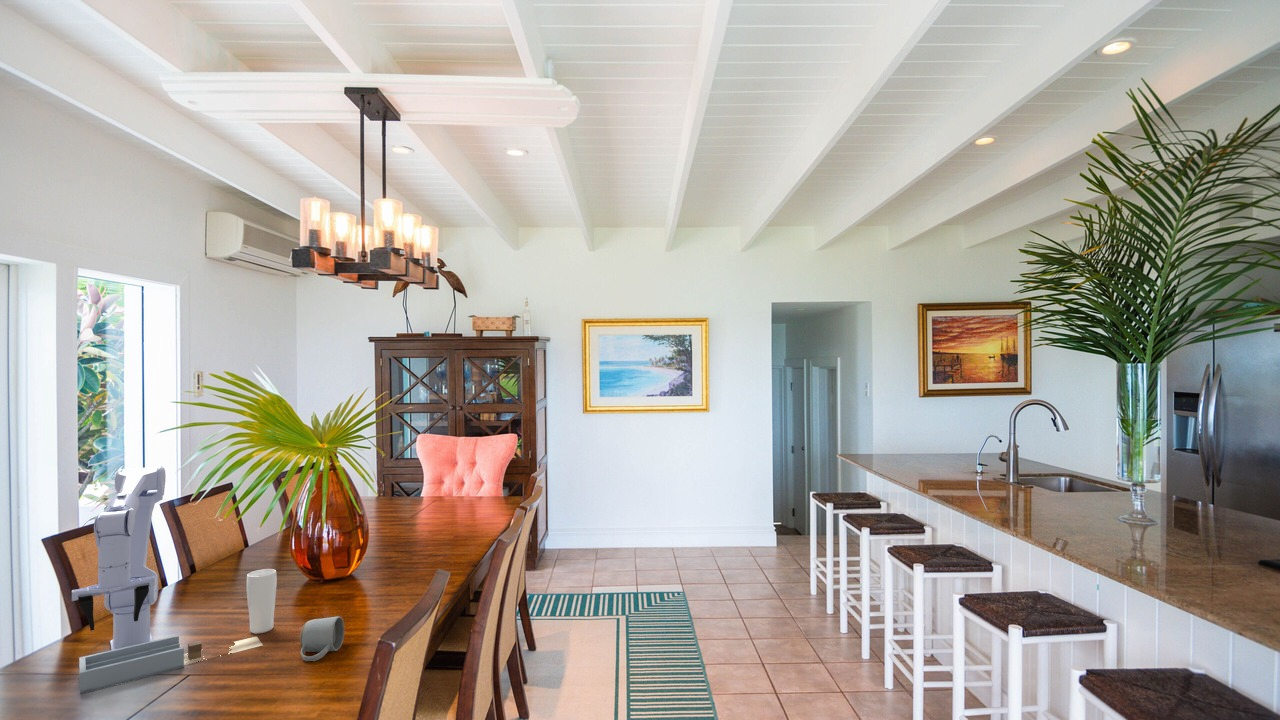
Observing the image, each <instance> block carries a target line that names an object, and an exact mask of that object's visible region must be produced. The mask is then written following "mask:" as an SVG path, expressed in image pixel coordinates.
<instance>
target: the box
mask: <svg viewBox="0 0 1280 720" xmlns="http://www.w3.org/2000/svg"><path fill="white" fill-rule="evenodd" d="M180 644H181V643H180V636H179V635H178V634H175V635H173V636H168V637H163V638H159V639H155V640H154V639H153V641H150V642H146V643H141V644H137V645H132V646H128V647H124V648H119V649H115V650H107V651H103V652H98V653H93V654H90V655H85V656H84V655H83V656H80V657H78V659H79V661H78V667H79V671H78V672H79V673H78V680H79V681H78V682H79V685H78V687H79V695H83V694H86V692H87V693H90V692H93V691H94V692H95V691H98V690H97V689H99V690H103V689H107V688H110V687H113V686H118V685H121V683H122V684H126V683H128V682H129V681H130V682H133V681H137V680H141V679H145V678H149V677H153V676H156V675H160V674H163V673H168V671H169V672H172V671H176V670H179V669H184V668H185V666H184V654H185V648H184V647H183V646H182V647H181V645H180ZM125 682H126V683H125ZM117 684H118V685H117ZM102 688H103V689H102Z"/></svg>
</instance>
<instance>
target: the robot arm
mask: <svg viewBox="0 0 1280 720" xmlns="http://www.w3.org/2000/svg"><path fill="white" fill-rule="evenodd" d="M165 488H166V470H165V467H163V466H162V465H159V466H150V467H149V466H148V467H137V468H136V467H133V468H119V469H118V470H116V473H115V477H114V489H115V491H116V494H115V495H114V496H112V497H111V499H110V501H109V502H108V504H107V507H106V508H105V510H104V511H103V512H101V513H100V514H97V515H96V516H95V518H94V523H93V534H94V538H95V547H96V548H97V551H98V552H97V554H98V555H97V583H98V584H93V585H89V586H85V587H81V588H78V589H72V590H71V601H72V602H74V601H75V602H76V601H78V605H79V607H80V608H81V610H82V611H83V613H84V616H85V617H86V619H87V621H88V625H89V631H94V630H95V619H94V597H97V596H102V595H104V602H103V604H104V607H105V609H106V610H108V611H110V614H111V615H113V617H112V621H113V625H112V626H113V630H112V631H113V632H112V633H113V634H112V635H113V636H112V639H111V640H109V641H110V649H111V650H115V649H119V648H124V647H128V646H132V645H137V644H141V643H146V642H150V641H154V639H153V637H152V633H151V605H154V604H155V603H156V602H157V599H158V595H159V576H158V574H157V572H156V571H154V569H151V568H149V567H147V561H148V560H147V559H148V552H149V543H150V536H151V533H150V532H151V526H152V517H153V511H154V508H155V504H156V503H159V502H160V501H162V500H163V499H164V498H163V497H164V494H165ZM111 650H110V651H111Z"/></svg>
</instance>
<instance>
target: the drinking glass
mask: <svg viewBox="0 0 1280 720" xmlns="http://www.w3.org/2000/svg"><path fill="white" fill-rule="evenodd" d="M277 583H278V581H277V570H276V569H274V568H263V569H258V570H253V571H250V572H249V573H247V574H246V599H247V608H248V620H249V632H250V633H252V634H256V635H257V634H263V633H268V632H270V631H271V630H272V629H274V626H275V625H274V621H275V620H274V619H275V606H276V595H277Z"/></svg>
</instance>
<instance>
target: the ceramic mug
mask: <svg viewBox="0 0 1280 720" xmlns="http://www.w3.org/2000/svg"><path fill="white" fill-rule="evenodd" d="M344 638H345V623H344V620H343V617H342V616H339V615H338V616H331V617H324V618H314V619H310V620H308V621H307V620H306V622H305V623H304V624H303V626H302V627H301V630H300V634H299V644H300V648H301V649H300V655H301V658H302V660H303V661H305V662H307V661H313V662H316V661H318V660H320V659H322V658H323V657H325V655H326V654H327V653H328V652H337V651H339V650H340V649H341V647H342V645H343V642H344ZM338 649H339V650H338ZM305 652H309V653H313V652H314V653H317V654H314V655H312V656H308V655H305Z"/></svg>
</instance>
